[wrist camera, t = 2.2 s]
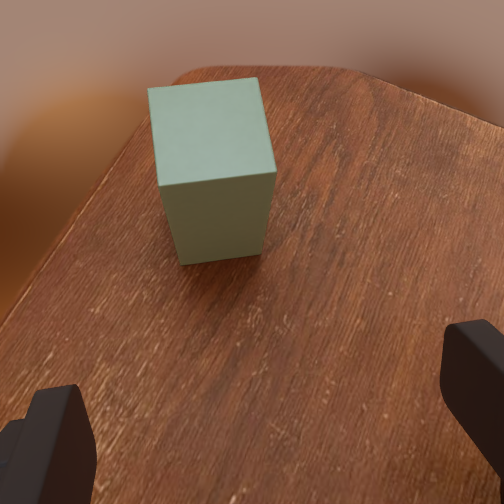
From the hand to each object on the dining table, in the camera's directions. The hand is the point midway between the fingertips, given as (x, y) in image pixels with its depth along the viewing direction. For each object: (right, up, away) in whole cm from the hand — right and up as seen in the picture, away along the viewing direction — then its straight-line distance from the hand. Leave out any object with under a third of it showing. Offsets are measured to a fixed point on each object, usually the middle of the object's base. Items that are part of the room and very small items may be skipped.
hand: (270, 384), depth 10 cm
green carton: (-3, +5, +19) cm, 20 cm away
